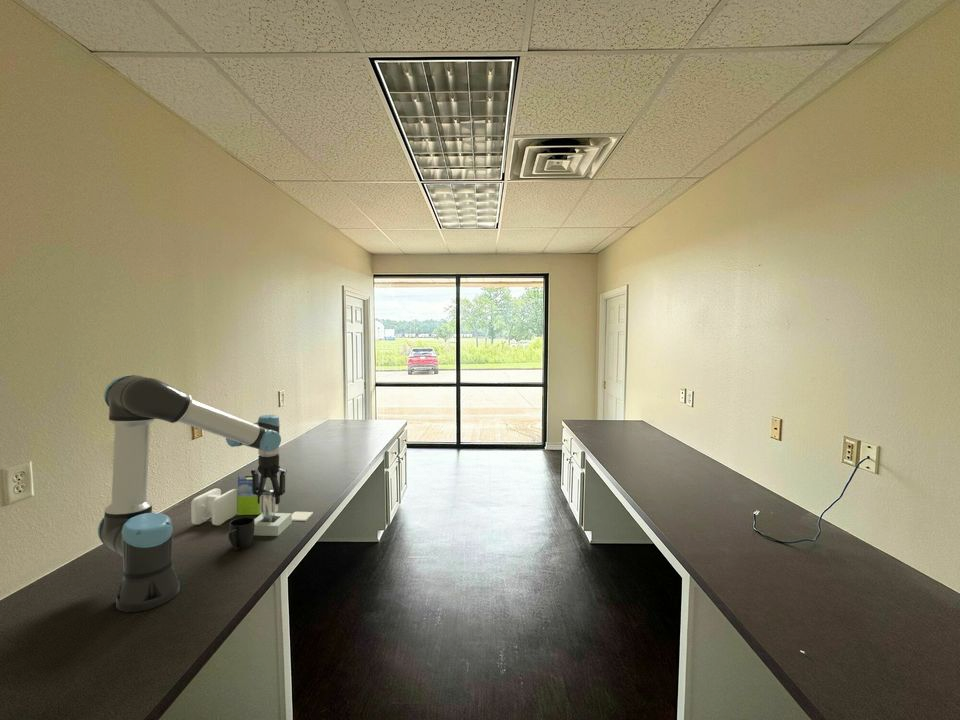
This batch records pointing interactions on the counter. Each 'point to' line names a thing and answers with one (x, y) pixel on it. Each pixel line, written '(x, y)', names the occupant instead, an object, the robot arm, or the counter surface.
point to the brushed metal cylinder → (268, 505)
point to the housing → (272, 524)
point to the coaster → (301, 516)
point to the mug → (241, 532)
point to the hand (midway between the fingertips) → (268, 511)
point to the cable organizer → (214, 506)
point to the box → (247, 497)
